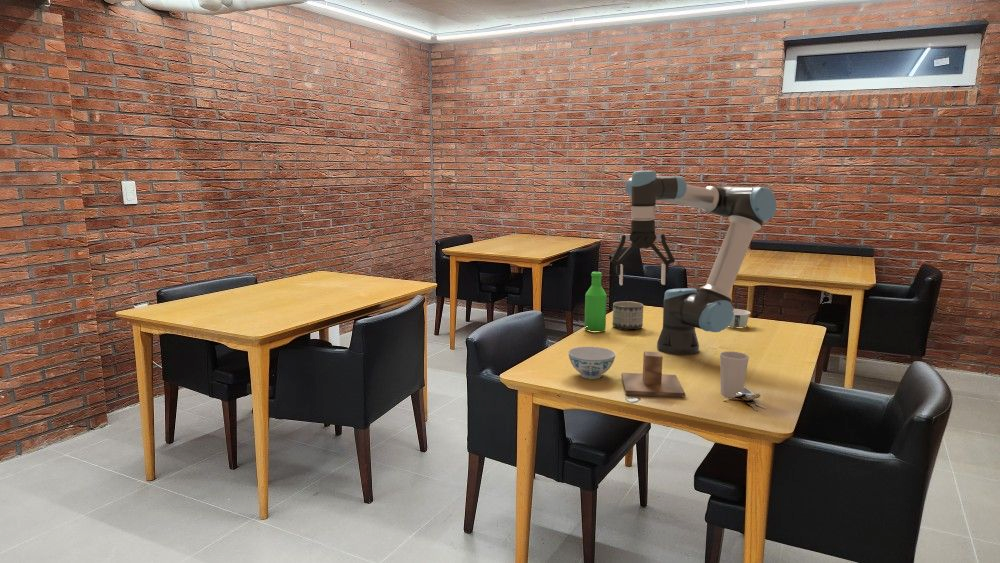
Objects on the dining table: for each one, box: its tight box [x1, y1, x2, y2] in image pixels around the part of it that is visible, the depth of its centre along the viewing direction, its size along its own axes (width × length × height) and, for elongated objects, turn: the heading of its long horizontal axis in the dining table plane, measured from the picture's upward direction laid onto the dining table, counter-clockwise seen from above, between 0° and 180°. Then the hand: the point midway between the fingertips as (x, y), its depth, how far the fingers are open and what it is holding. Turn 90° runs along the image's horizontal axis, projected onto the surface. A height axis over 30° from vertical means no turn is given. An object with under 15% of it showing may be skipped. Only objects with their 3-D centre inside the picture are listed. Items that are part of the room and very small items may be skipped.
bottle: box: [584, 271, 608, 332], centre depth 256 cm, size 9×9×25 cm
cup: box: [719, 350, 750, 399], centre depth 181 cm, size 8×8×12 cm
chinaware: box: [568, 346, 616, 380], centre depth 198 cm, size 15×15×8 cm
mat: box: [626, 394, 684, 398], centre depth 187 cm, size 16×16×1 cm
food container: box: [729, 308, 751, 327], centre depth 267 cm, size 12×12×6 cm
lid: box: [621, 351, 686, 397], centre depth 186 cm, size 17×17×10 cm
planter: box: [612, 300, 644, 330], centre depth 262 cm, size 13×13×10 cm
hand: (641, 284), depth 200 cm, fingers open, 13 cm apart
